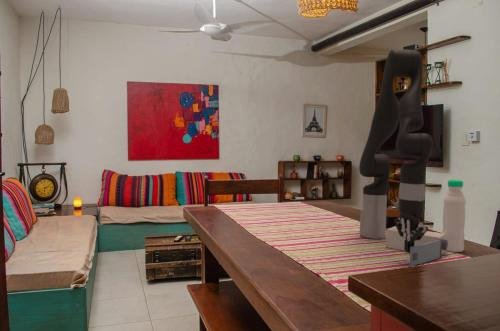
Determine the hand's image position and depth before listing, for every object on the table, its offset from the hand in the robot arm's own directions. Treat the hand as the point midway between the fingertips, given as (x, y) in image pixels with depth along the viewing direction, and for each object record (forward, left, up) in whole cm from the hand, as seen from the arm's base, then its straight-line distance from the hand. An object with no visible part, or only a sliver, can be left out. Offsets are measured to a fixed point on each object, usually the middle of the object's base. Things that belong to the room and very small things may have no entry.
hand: (409, 252), depth 126 cm
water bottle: (+6, +27, -4) cm, 28 cm away
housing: (-4, +18, -4) cm, 19 cm away
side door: (+4, +5, -3) cm, 7 cm away
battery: (-24, +48, -4) cm, 54 cm away
